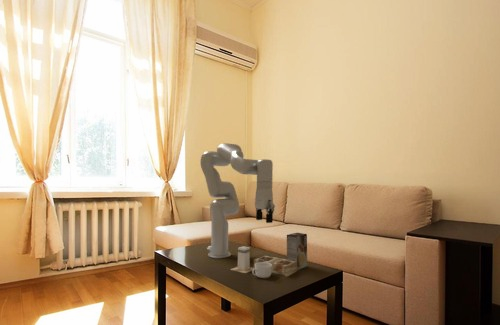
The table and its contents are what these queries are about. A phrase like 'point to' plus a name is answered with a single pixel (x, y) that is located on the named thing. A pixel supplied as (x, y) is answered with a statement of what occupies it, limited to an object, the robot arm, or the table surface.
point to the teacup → (263, 269)
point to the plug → (243, 258)
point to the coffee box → (297, 249)
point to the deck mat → (242, 270)
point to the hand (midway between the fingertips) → (264, 221)
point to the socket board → (279, 265)
